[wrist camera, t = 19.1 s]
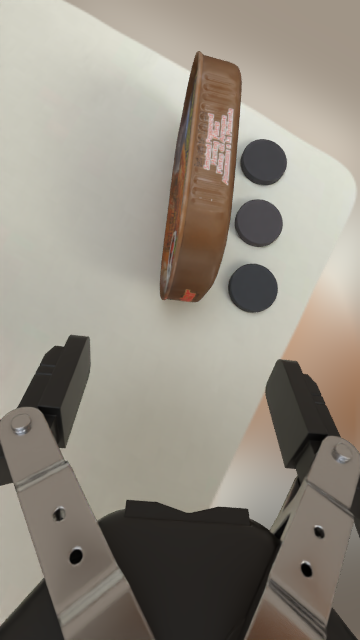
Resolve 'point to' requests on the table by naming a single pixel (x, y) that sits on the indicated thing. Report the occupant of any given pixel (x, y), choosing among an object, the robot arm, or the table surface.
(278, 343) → the table surface
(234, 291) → the dark grey disc
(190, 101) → the tin
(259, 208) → the dark grey disc
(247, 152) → the dark grey disc
